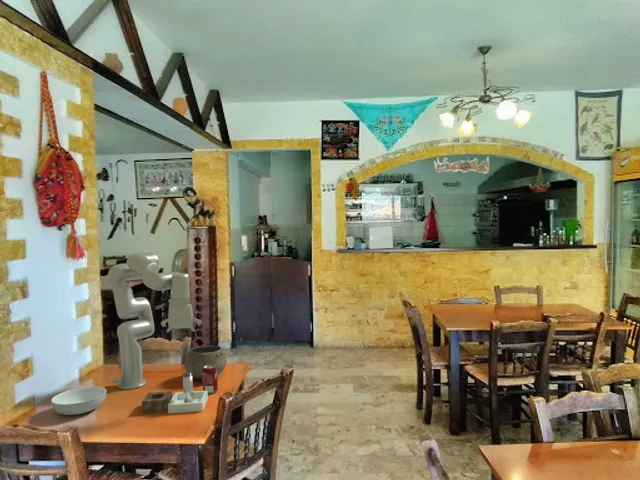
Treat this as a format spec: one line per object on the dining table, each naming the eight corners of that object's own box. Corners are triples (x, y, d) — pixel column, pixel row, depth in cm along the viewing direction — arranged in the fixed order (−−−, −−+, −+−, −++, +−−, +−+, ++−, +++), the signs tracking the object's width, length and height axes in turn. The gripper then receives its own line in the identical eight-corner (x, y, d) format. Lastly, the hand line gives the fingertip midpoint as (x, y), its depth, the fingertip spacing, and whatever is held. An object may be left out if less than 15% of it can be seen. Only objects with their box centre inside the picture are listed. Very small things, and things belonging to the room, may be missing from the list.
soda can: (214, 394, 204) (213, 368, 204) (200, 394, 205) (199, 368, 205) (220, 389, 211) (219, 364, 210) (206, 388, 212) (206, 363, 212)
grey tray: (168, 413, 185) (167, 405, 185) (175, 400, 199) (175, 392, 198) (202, 411, 186) (202, 402, 186) (207, 398, 200) (207, 390, 200)
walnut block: (142, 413, 186) (141, 401, 185) (148, 403, 196) (148, 392, 195) (166, 411, 187) (166, 399, 186) (172, 402, 197) (171, 391, 196)
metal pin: (183, 405, 190) (181, 375, 190) (185, 401, 194) (183, 372, 194) (192, 404, 191) (191, 374, 190) (194, 401, 194) (193, 371, 194)
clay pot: (182, 374, 234) (181, 346, 233) (222, 368, 242) (221, 341, 242) (188, 387, 214) (187, 356, 214) (231, 380, 223) (230, 350, 223)
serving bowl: (112, 398, 203) (111, 383, 203) (99, 417, 183) (99, 401, 183) (61, 403, 199) (61, 388, 199) (43, 423, 178) (42, 406, 178)
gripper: (158, 303, 191) (159, 343, 191) (199, 302, 192) (200, 342, 193) (162, 300, 198) (163, 338, 199) (202, 299, 200) (203, 337, 200)
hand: (181, 340), depth 196 cm, fingers open, 9 cm apart
